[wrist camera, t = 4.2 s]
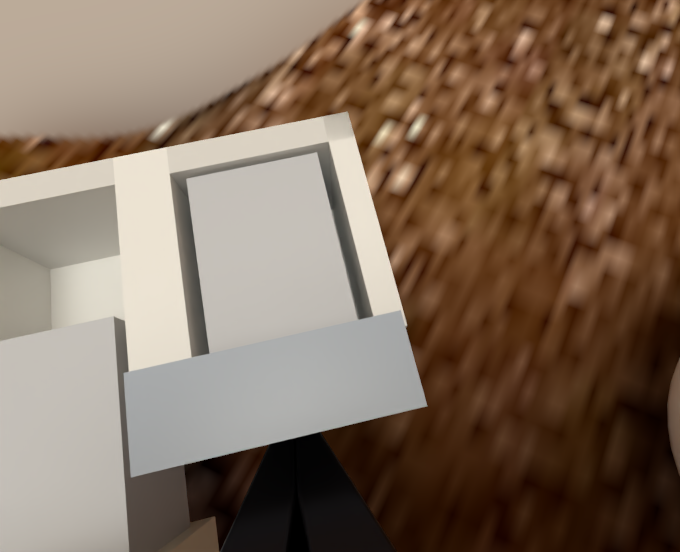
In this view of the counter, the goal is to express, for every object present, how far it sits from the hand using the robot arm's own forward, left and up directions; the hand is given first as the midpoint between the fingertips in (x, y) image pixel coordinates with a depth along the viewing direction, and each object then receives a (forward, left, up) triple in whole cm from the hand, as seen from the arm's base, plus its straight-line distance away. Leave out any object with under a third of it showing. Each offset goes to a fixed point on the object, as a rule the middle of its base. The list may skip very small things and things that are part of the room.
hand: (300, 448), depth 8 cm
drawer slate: (+3, -3, -6) cm, 7 cm away
